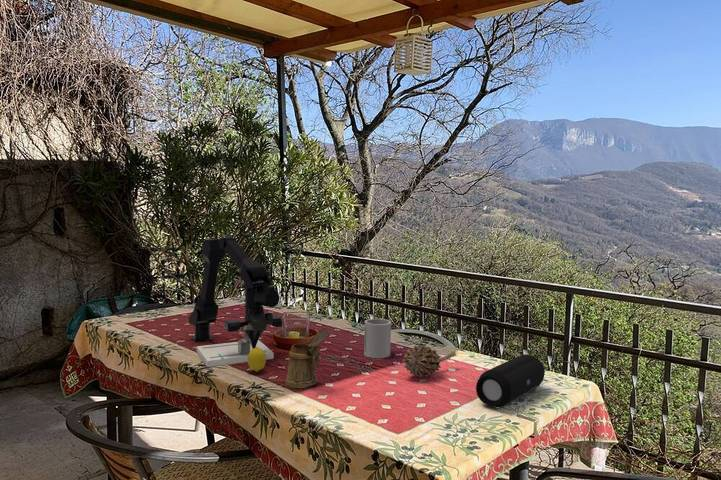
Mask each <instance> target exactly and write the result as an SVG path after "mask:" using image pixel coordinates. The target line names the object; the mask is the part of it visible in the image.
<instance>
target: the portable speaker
mask: <svg viewBox="0 0 721 480" xmlns="http://www.w3.org/2000/svg"><path fill="white" fill-rule="evenodd" d="M545 372H546V370H545V366H544V363H543V362H542V361H541V360H540V359H539V358H538V357H536V356H534V355H531V354H526V353H525V354H520V355H518V356H516V357H514V358H511V359H508V360H507V361H504V362H503V363H500V364H498V365H496V366H495V367H492V368H490V369H488V370H485V371H484V372H482V373H481V374H480V376H479V377H478V379H477V381H476V385H475V389H476V390H475V391H476V395H477V397H478V399H479V400H480V401H481V402H482V403H483V405H486V406H488V407H490V408H496V407H501V408H503V407H505V406H506V405H508V404H510V403H511V402H512V403H513V402H514V401H515V400H517V399H519V398H520V397H522V396H523V394H524V395H525V394H527V393H528V391H529V392H530V391H532V390H533V389H535V388H537V387H539V386H540V385H541V384H542V383H543V381H544V378H545Z"/></svg>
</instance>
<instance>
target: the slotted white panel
mask: <svg viewBox="0 0 721 480" xmlns="http://www.w3.org/2000/svg"><path fill="white" fill-rule="evenodd" d="M256 347H258V348H260V349H262V350H263V351H264V353H265V356H266V361H267V360H273V359H274V358H275V355H274V354H275V353H274V352H273V351H272V350H271V349H270V348H269V347H267V346H266V345H265V344H264V343H263V342H262V341H261V340H259V339H258V342H257V345H256ZM252 349H253V348H252V346H251V344H250V351H251V350H252ZM196 354H197V355H198V356H199V358H200V359H201V360H202V362H203V363H204V365H205V366H206V368H211V367H218V366H220V367H221V366H225V365H226V366H228V365H234V364H235V365H236V364H241V363H248V355H249V354H243V355H241V354H240V353H239V352H238V341H235V342H227V343H226V342H225V343H217V344H216V343H214V344H206V345H200V346H199V345H198V346H196Z"/></svg>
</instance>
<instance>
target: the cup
mask: <svg viewBox="0 0 721 480" xmlns="http://www.w3.org/2000/svg"><path fill="white" fill-rule="evenodd" d="M391 333H392V321H391V320H389V319H385V318H368V319H366V320H364V333H363V335H364V337H363V338H364V339H363V340H364V341H363V344H364V345H363V356H364V355H365V356H367V357H371V358H385V357H388V356H390V357H391V345H392V344H391V342H392V341H391V340H392V339H391V336H392V334H391ZM365 356H364V357H365Z"/></svg>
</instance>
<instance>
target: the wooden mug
mask: <svg viewBox="0 0 721 480" xmlns="http://www.w3.org/2000/svg"><path fill="white" fill-rule="evenodd" d="M327 336H328V329H327V328H326V327H325V328H323V329H321V330H320V331H318V332H317V333H316V334H315V335H313V337H312V338H311V340H310V342H309V344H308V343H304V342H303V343H301V342H300V343H295V344H292V345H291V348H290V351H289V360H288V369H287V375H286V377H285V383H284V384H285V386H287V387H289V388H292V389H308V388H312V387H313V386H315V385H317V383H318V381H317V380H318V379H317V378H318V377H317V375H316V369H317V368H318V366H319V363H320V361H321V353H320V348H319V345H320V344H322V342H324V340H325V338H326V337H327Z"/></svg>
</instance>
